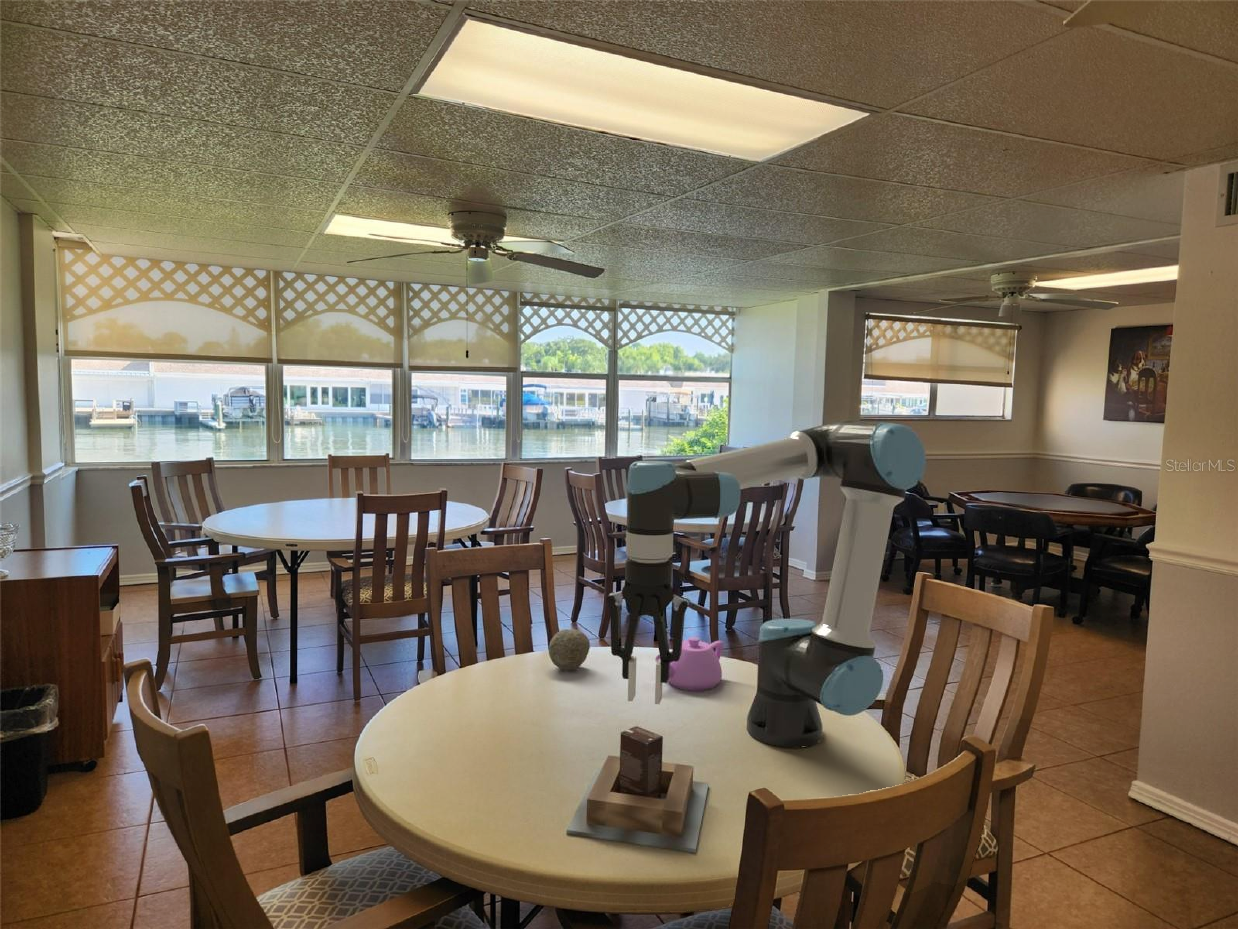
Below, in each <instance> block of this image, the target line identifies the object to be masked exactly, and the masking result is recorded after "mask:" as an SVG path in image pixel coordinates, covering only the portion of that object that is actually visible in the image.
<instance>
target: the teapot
mask: <svg viewBox="0 0 1238 929" xmlns="http://www.w3.org/2000/svg"><path fill="white" fill-rule="evenodd" d="M714 649H715V650H714ZM672 651H673V649H672V650H671V651H670V652H672ZM723 651H724V641H722V640H716V641H713V642H711V643H710V644H709V643H708V642H705V641H701V638H699V637H695V636H693V637H692V636H691V637H688V639H687V640H683V641H682V652H681V656H680V659H679V660H678V661H677V662H675V661H673V662H671V663H670V669H669V679H668V681H667V682H669V684H671V685H672V686H673V687H674V688H677V689H681V690H686V691H694V692H695V691H706V690H711V689H713V688H715V686H717V685H718V684H719V683H720V681H721V679H722V677H723V671H722V665H721V663H720V659H721V657H722V654H723ZM658 659H660V654H659V653H658V655H657V656H656V657H655V659H654V660H655V662H656V663H657V661H658Z"/></svg>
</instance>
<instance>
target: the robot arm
mask: <svg viewBox="0 0 1238 929" xmlns="http://www.w3.org/2000/svg"><path fill="white" fill-rule="evenodd" d="M920 439H921V438H920V436H919V435H918V433H917V432H916V431H915V430H913V429H912V428H911V427H909V426H907V425H904V424H899V423H894V422H893V423H892V422H886V421H881V422H880V421H879V422H878V421H858V420H857V421H854V420H841V421H834V422H830V423H825V424H822V425H817V426H813V427H811V428H810V427H809V428H807V429H802V430H798V431H794V432H792V433H790V434H789V435H788V436H787V438H784V439H781V440H780V439H779V440H776V441H769V442H767V443H762V444H756V445H752V446H748V447H743V448H738V449H734V450H729V451H725V452H721V453H720V452H719V453H715V454H711V455H707V456H701V457H698V458H692V459H687V460H684V461H678V462H671V461H665V460H664V461H663V460H661V461H660V460H636V461H634V462H632V463H631V464H630V465H629V469H628V475H627V485H626V494H627V495H626V496H627V497H626V499H627V500H626V532H625V535H626V536H625V555H626V556H627V557H626V559H625V568H624V569H625V570H624V571H625V572H624V573H625V574H624V585H623V587H622V590H620V591H617V592H613V591H612V592H610V593H609V595H607V596H606V603H607V606H608V608H609V611H610V612H609V614H610V650H611V651H610V653H611V655H612V656H614V657H615V656H617V657H619V658H620V659H621V660H622V663H621V664H622V665H621V666H622V671H621V676H622V679H624V680H628V682H627V702H633V701H634V700H635V697H636V693H637V692H636V684H637V656H633V652H634V645H635V641H636V638H637V634H638V628H639V624H640V619H641V617H643V616H648V617H651V618H652V620H653V624H654V628H655V633H656V639H657V640H656V641H657V647H658V651H659V653H658V655H659V654H660V659H658V661H657V662H656V664H655V684H654V685H655V687H654V705H660V704H661V702H662V699H663V684H667V683H668V682H669V681H668V679H669V669H670V663H671V662H673V661H675V662H677V661H678V660H679V659H680V656H681V652H682V641H684V640H683V639H684V638H683V637H684V626H685V614H686V611H687V609H688V606H689V604H690V599H689V598H687V597H684V598H683V597H680V596H679V595H676V594H675V591H674V588H673V585H672V583H673V561H672V559H671V557H673V555H674V529H675V528H674V526H675V525H674V524H675V521H676V520H677V521H679V520H687V519H688V520H690V519H691V520H693V519H719V518H723V517H730V516H733V515H734V514H735V513H736V512H737V511H738V509H739V506H740V504H741V495H742V494H741V493H742V492H741V490H744V489H749V488H752V487H757V486H761V485H765V484H770V483H773V482H777V481H781V480H785V479H790V478H794V477H796V478H798V479H800V480H807V479H810V478H811V479H812V478H830V479H832V478H833V479H836V480H837V479H838V480H841V481H840V485H839V488H840V490H841V491H842V493H843V495H844V496H845V499H846V500H845V503H844V507H843V508H844V509H843V514H842V519H841V524H840V529H839V534H838V538H837V539H838V540H837V544H836V549H835V554H834V555H835V556H834V559H833V566H832V569H831V574H830V578H829V586H828V589H827V595H826V601H825V605H824V611H823V616H822V621H821V622H820V623H819V624H818V623H817V622H816V621H813V620H808V619H803V618H802V619H801V618H780V619H779V618H778V619H772V620H767V621H765V622H764V623H762V625H760V628H759V635H758V639H757V643H758V645H757V646H758V647H757V648H758V649H757V650H758V651H757V676H756V677H757V680H756V682H757V683H756V693H755V695H754V697H753V700H752V704H751V705H750V708H749V710H748V713H747V718H746V730H747V732H748V734H750V735H751V736H752V737H753V738H754V739H756V740H758V741H760V742H762V743H765V744H767V745H772V746H776V747H780V746H781V748H788V747H801V748H803V747H802V746H808V747H810V745H812V746H814V745H816V744H818V743H819V742H820V741H821V740H822V739H821V738H823V722H822V719H821V715H820V711H819V708H818V707H819V706H818V704H819V705H820V706H822V707H823V708H825V709H826V710H828V711H831V712H835V713H837V714H839V715H843V716H846V717H847V716H849V717H850V716H855V715H858V714H861V713H863V712H865V711H866V710H867V709H868V708H869V707H870V706H872V705H873V703H875V701H876V700H877V698H878V696H879V694H880V693H881V691H882V686H883V683H884V671H883V670H882V665H881V664H880V663H879V662H878V661H877V659H876V658H874V656H875V650H876V643H875V641H874V640H873V638H872V637H871V635H870V629H871V625H872V620H873V614H874V610H875V604H876V599H877V594H878V590H879V584H880V578H881V573H882V569H883V564H884V557H885V555H886V554H885V553H886V548H887V544H888V543H887V542H888V539H889V534H890V529H891V523H892V518H893V514H894V508H895V507H896V506H897V505H899V504H900V503H902V502H903V501H905V497H906V494H907V493H906V492H907V490H909V489H912V488H913V487H915V486H916V485H917V484H918V481H921V480H922V478H923V475H925V474H924V473H925V470H926V465H927V455H926V449H925V446H924V443H923V442H922V441H921V440H920ZM623 599H624V600H625V601H626V602H625V603H627V606H629V608H630V610H631V613H630V617H629V625H628V627H627V632H626V637H625V642H624V647H623V645H622V642H623V641H622V613H621V612H622V611H621V610H622V609H621V605H622V603H623ZM671 603H673V610H674V611H676V613H675V618H674V628H673V639H672V640H673V642H672V650H673V651H672V650H671V651H672V652H671V651H670V646H669V641H668V634H667V633H668V632H667V626H666V621H665V620H666V619H665V610H666V609H667V608H668V606H669V605H670V604H671ZM820 739H821V740H820ZM819 740H820V741H819ZM818 741H819V742H818ZM817 742H818V743H817ZM815 743H816V744H815ZM813 744H814V745H813Z"/></svg>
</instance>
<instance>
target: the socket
mask: <svg viewBox="0 0 1238 929" xmlns="http://www.w3.org/2000/svg"><path fill="white" fill-rule="evenodd" d="M619 772H620V756H619V755H618V756H617V755H611V754H610V755H609V754H608V756H607V757H606V760H605V761H604V763H603V766H602V767H601V768H597V769H596V771H595V773H594V775H592V776H593V777H592V778H591V780H590V782H589V784H588V786H587V788H586V790H585V793H584V794H583V796H582V798H581V800H580V803H579V805H578V806H577V809H576V810H575V812H574V815H573V816H572V818H571V820H570V822H569V825H568V826H567V828H566V834H567V835H572V836H573V835H575V836H581V837H588V838H594V839H600V840H608V841H613V842H614V841H615V842H620V843H621V842H622V843H627V844H628V843H629V844H633V845H634V844H635V845H641V846H648V847H655V848H662V849H669V850H673V851H681V852H689V853H694V854H696V853H697V847H698V844H699V843H698V842H699V838H700V831H701V826H702V823H703V822H702V821H703V816H704V811H705V806H706V800H707V795H708V790H709V782H706V781H705V782H703V781H694V765H690V764H689V765H687V764H680V763H673V762H665V761H662V777H661V778H662V779H661V799H659V798H651V797H644V796H637V795H629V794H622V793H619Z"/></svg>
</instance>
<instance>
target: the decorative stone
mask: <svg viewBox="0 0 1238 929" xmlns="http://www.w3.org/2000/svg"><path fill="white" fill-rule="evenodd" d="M590 648H591V644H590V640H589V637H588V636H587V635H586V634H585V633H584V632H583V631H580V630H578V629H573V628H571V629H561V630H559V631H557V632H556V633H555V634H554V635H553V636H552V637H551V639H550V642H549V645H548V655H549V658H550V661H551V662H552V663H553V665H554V666H556V667H557V668H558V669H560V670H562V671H569V672H570V671H575V670H577V669H579V667H581V666H582V665H583V663H584V662H585V661H586V659H587V658H588V654H589V651H590Z"/></svg>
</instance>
